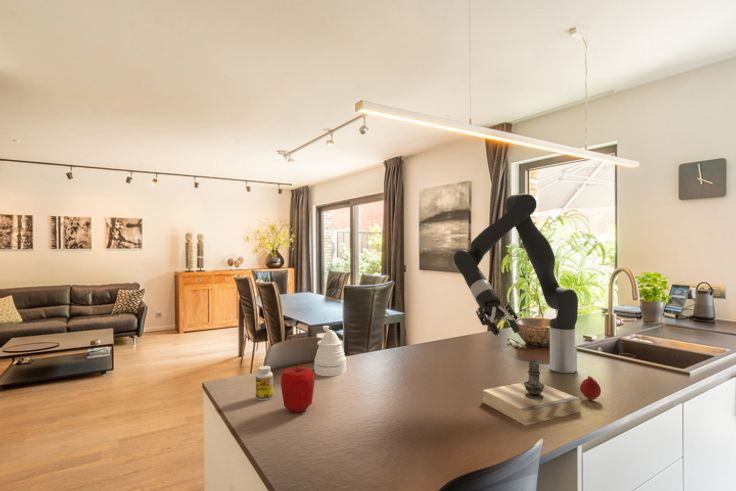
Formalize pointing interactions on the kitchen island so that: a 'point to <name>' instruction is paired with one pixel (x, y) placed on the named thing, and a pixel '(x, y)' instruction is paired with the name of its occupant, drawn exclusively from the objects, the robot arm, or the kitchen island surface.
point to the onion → (590, 388)
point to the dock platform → (531, 403)
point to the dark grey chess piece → (534, 381)
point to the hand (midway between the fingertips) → (507, 332)
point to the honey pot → (329, 355)
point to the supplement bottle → (264, 383)
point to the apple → (297, 388)
